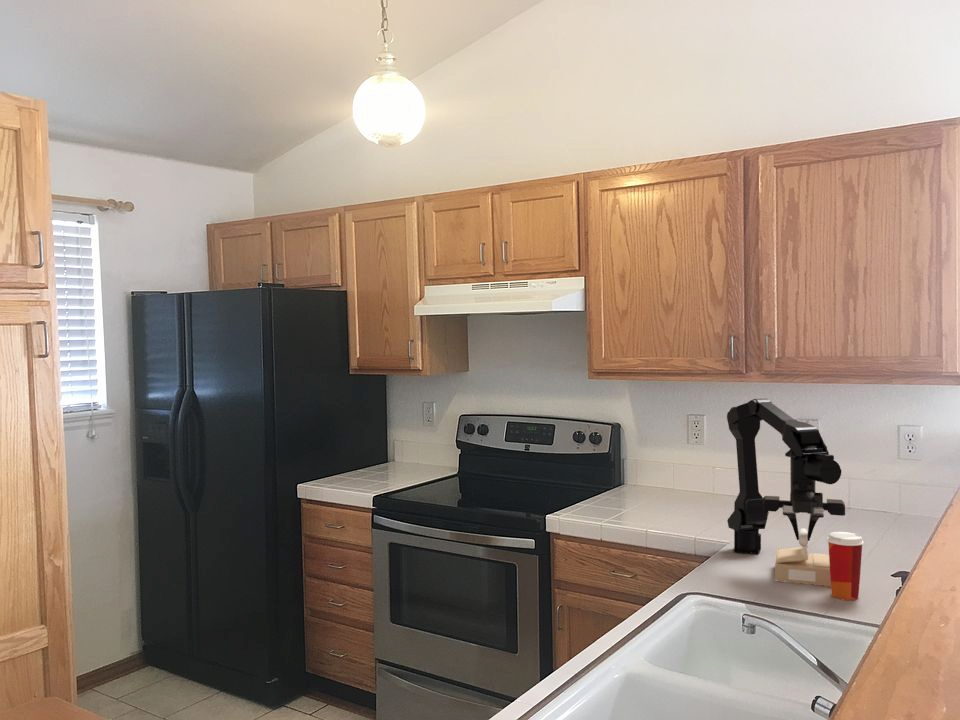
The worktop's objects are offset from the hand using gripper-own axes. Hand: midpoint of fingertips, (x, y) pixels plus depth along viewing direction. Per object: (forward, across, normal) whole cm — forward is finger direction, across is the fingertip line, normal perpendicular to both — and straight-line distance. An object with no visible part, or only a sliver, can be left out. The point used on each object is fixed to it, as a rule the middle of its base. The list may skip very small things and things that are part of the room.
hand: (803, 540), depth 201 cm
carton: (+9, +2, 0) cm, 9 cm away
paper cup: (+9, +9, -13) cm, 18 cm away
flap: (+4, -2, 0) cm, 4 cm away
